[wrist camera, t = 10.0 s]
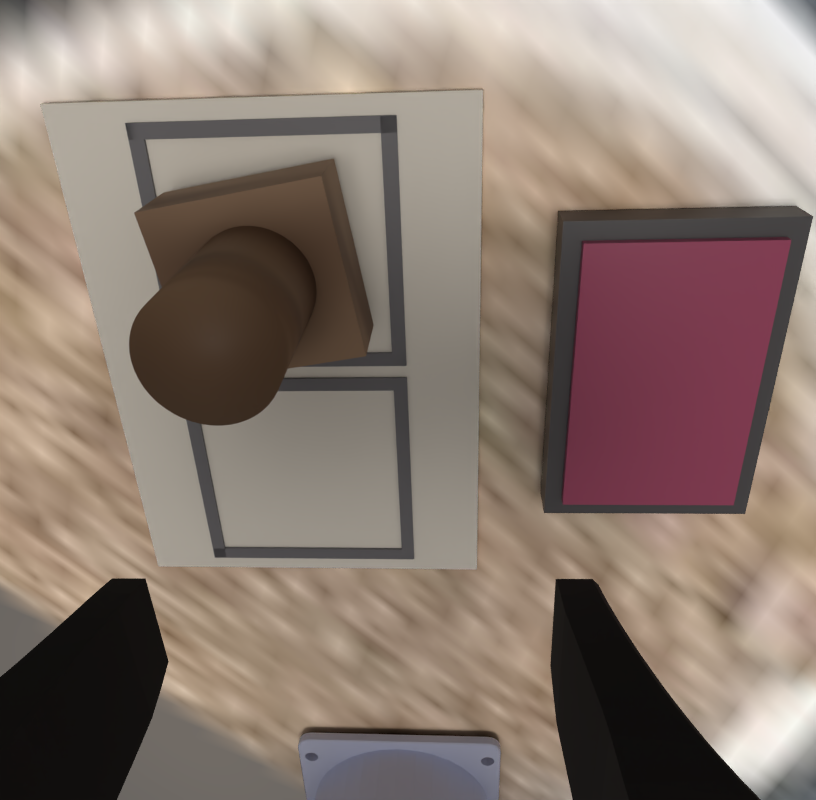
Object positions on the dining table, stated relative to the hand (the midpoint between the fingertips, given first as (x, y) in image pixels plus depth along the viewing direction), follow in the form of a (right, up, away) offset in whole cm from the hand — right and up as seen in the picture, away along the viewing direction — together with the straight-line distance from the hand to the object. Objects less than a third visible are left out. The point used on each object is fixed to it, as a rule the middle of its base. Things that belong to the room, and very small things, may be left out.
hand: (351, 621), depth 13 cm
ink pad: (+8, +5, +8) cm, 13 cm away
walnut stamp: (-3, +8, +7) cm, 11 cm away
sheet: (-2, +5, +9) cm, 10 cm away
